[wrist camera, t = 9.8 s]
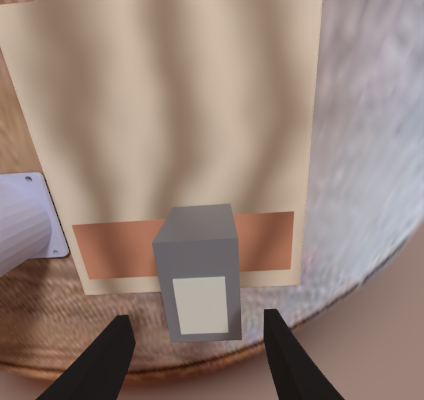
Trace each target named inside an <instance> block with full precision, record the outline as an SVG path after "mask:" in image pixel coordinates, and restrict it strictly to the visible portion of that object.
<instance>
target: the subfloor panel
mask: <svg viewBox="0 0 424 400" xmlns="http://www.w3.org/2000/svg"><path fill="white" fill-rule="evenodd" d="M321 11H322V0H42V1H32V2H23V3H14V4H4V5H0V47H1V50H2V53H3V56H4V58H5V61H6V64H7V67H8V70H9V73H10V76H11V79H12V82H13V85H14V88H15V91H16V93H17V96H18V99H19V102H20V105H21V108H22V111H23V114H24V117H25V120H26V123H27V125H28V128H29V131H30V134H31V137H32V140H33V143H34V146H35V149H36V152H37V155H38V158H39V160H40V163H41V166H42V169H43V172H44V175H45V178H46V181H47V184H48V187H49V190H50V193H51V195H52V198H53V201H54V204H55V207H56V210H57V213H58V216H59V219H60V222H61V225H62V228H63V230H64V233H65V236H66V239H67V242H68V245H69V248H70V251H71V254H72V257H73V260H74V262H75V265H76V268H77V271H78V274H79V277H80V280H81V283H82V286H83V289H84V292H85V295H98V294H119V293H140V292H161V288H160V283H159V278H158V272H157V267H156V262H155V257H154V252H153V246H152V242H153V240H154V239H155V237H156V235H157V234H158V232H159V230H160V228H161V227H162V225H163V223H164V222H165V220H166V218H167V217H168V215H169V213H170V212H171V210H172V208H173V207H185V206H201V205H216V204H231V209H232V213H233V218H234V222H235V226H236V231H237V235H238V248H239V276H240V288H245V287H266V286H287V285H299V283H300V271H301V258H302V246H303V233H304V221H305V209H306V196H307V184H308V172H309V159H310V147H311V134H312V122H313V110H314V97H315V85H316V73H317V60H318V48H319V35H320V23H321Z"/></svg>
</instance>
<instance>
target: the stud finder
mask: <svg viewBox="0 0 424 400" xmlns="http://www.w3.org/2000/svg"><path fill="white" fill-rule="evenodd" d="M152 246H153V252H154V257H155V262H156V267H157V272H158V278H159V283H160V288H161V293H162V299H163V304H164V309H165V314H166V319H167V325H168V330H169V335H170V340H171V342H197V341H224V340H242V333H241V305H240V276H239V248H238V235H237V231H236V226H235V222H234V218H233V213H232V209H231V204H216V205H201V206H185V207H173V208H172V210H171V212H170V213H169V215H168V217H167V218H166V220H165V222H164V223H163V225H162V227H161V228H160V230H159V232H158V234H157V235H156V237H155V239H154V240H153V242H152Z"/></svg>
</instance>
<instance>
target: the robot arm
mask: <svg viewBox="0 0 424 400" xmlns="http://www.w3.org/2000/svg"><path fill="white" fill-rule="evenodd" d="M30 177H31V179H32V181H31V180H30ZM57 251H58V252H57ZM68 253H69V249H68V246H67V243H66V240H65V238H64V235H63V232H62V229H61V226H60V223H59V220H58V217H57V214H56V212H55V209H54V206H53V203H52V200H51V197H50V194H49V191H48V188H47V186H46V183H45V180H44V177H43V175H42V174H41V173H39V172H30V173H16V174H2V175H0V277H1V276H3V275H4V274H6V273H7V272H9V271H10V270H12V269H13V268H15V267H16V266H18V265H20V264H21V263H23V262H24V261H26V260H27V259H32V258H50V257H64V256H66V255H67V254H68ZM135 343H136V342H135V338H134V335H133V331H132V327H131V323H130V320H129V316H128V315H117V316H116V317H115V318H114V319H113V321H112V322H111V323H110V324H109V325H108V326H107V327H106V328H105V329H104V330H103V331H102V333H101V334H100V335H99V336H98V337H97V338H96V339H95V340H94V341H93V342H92V344H91V345H90V346H89V347H88V348H87V349H86V350H85V351H84V352H83V353H82V354H81V355H80V356H79V357H78V358H77V360H76V361H75V362H74V363H73V364H72V365H71V366H70V367H69V368H68V369H67V370H66V371H65V372H64V373H63V374H62V375H61V376H60V377H59V378H58V379H57V380H56V381H55V382H54V383H53V384H52V385H51V386H50V387H49V388H48V389H47V390H46V391H44V393H42V394H41V395H40V396H39V397H38V398H37V399H36V400H116V399H117V397H118V394H119V392H120V389H121V386H122V384H123V381H124V379H125V376H126V373H127V371H128V368H129V365H130V362H131V358H132V355H133V351H134V347H135ZM264 343H265V348H266V353H267V358H268V363H269V366H270V370H271V373H272V377H273V380H274V384H275V387H276V390H277V394H278V398H279V400H345V399H344V398H343V397H342V396H341V395H340V394H339V393H338V392H337V390H336V389H335V388H334V387H333V386H332V384H331V383H330V382H329V381H328V380H327V378H326V377H325V376H324V375H323V374H322V372H321V371H320V370H319V369H318V367H317V366H316V365H315V363H314V362H313V361H312V360H311V358H310V357H309V356H308V354H307V353H306V352H305V350H304V349H303V347H302V346H301V345H300V343H299V342H298V341H297V339H296V338H295V336H294V335H293V333H292V332H291V331H290V329H289V328H288V326H287V325H286V323H285V321H284V320H283V318H282V317H281V315H280V313H279V312H278V310H277V309H264Z"/></svg>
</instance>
